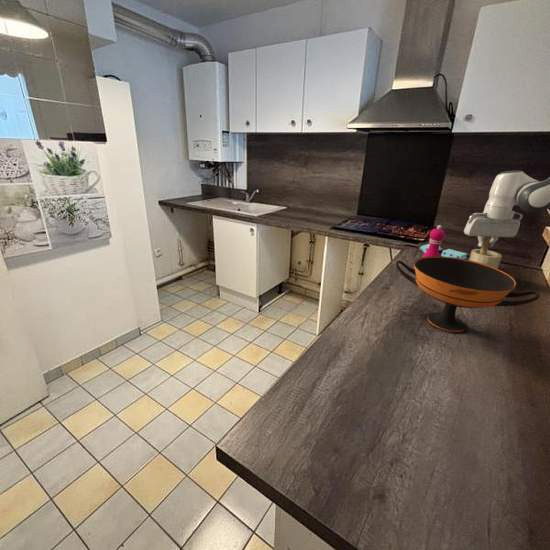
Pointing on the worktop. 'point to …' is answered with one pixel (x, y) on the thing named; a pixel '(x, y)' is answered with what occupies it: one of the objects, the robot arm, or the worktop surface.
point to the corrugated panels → (447, 252)
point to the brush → (486, 241)
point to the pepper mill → (435, 242)
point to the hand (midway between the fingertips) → (485, 246)
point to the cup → (462, 287)
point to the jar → (486, 257)
